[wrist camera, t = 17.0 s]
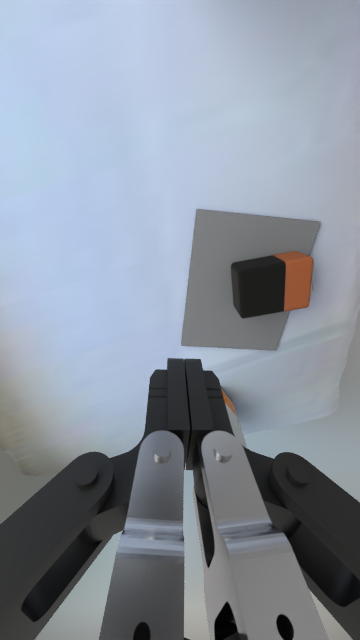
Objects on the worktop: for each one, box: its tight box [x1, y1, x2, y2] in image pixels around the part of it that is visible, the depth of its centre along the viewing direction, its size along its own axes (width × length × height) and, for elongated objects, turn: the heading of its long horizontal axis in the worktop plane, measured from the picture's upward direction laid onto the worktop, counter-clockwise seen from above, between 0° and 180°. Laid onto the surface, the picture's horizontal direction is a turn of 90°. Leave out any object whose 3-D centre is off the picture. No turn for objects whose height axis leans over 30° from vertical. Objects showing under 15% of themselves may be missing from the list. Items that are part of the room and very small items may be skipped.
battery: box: [231, 251, 314, 319], centre depth 30 cm, size 4×7×10 cm
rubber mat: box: [181, 209, 321, 351], centre depth 33 cm, size 20×16×1 cm
